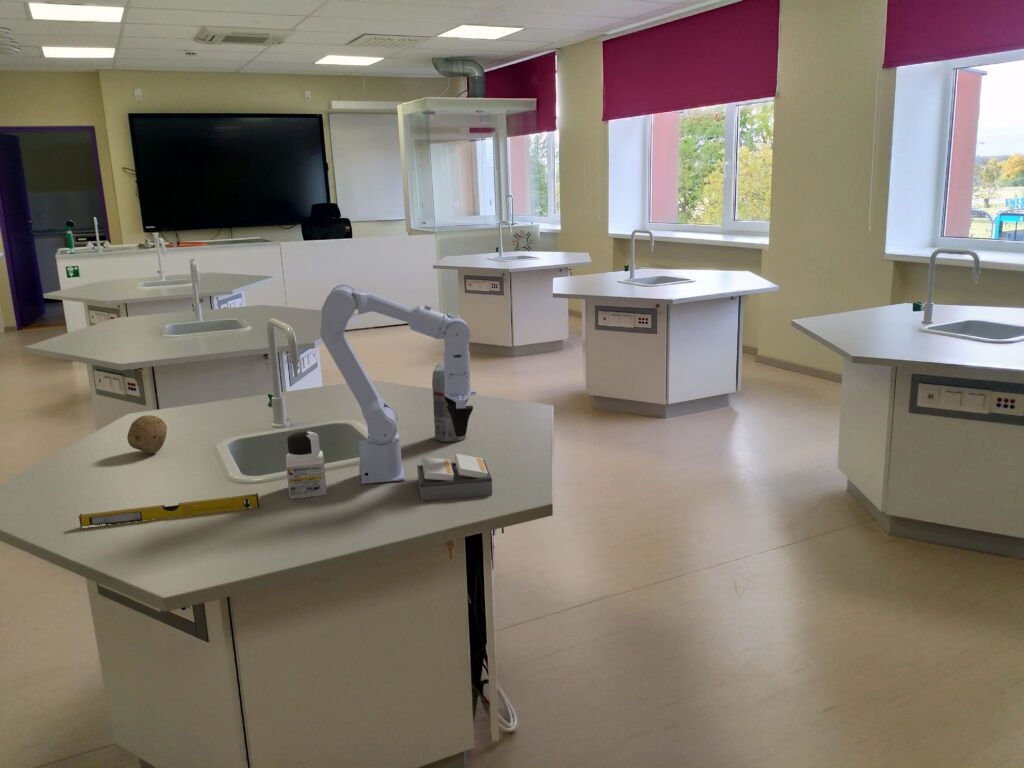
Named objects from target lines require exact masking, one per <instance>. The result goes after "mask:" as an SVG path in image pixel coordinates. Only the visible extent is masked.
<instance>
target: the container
mask: <svg viewBox="0 0 1024 768" xmlns="http://www.w3.org/2000/svg"><path fill="white" fill-rule="evenodd" d="M286 441H287V451H288V453H287V454H286V457H285V458H286V459H285V460H286V461H285V462H286V466H285V468H286V477H287V486H288V487H287V488H288V497H289V499H290V500H293V499H295V498H296V499H303V498H312V497H311V496H313V497H320V496H326V495H327V493H328V492H327V484H326V483H327V481H326V472H325V471H326V469H325V460H324V452H323V451H322V450H321V448H320V447H321V446H320V437H319V435H318V433H316V432H312V431H306V430H305V431H298V432H295V433H292V434H290V435H289V436H288V437H287V439H286Z"/></svg>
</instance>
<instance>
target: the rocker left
mask: <svg viewBox="0 0 1024 768" xmlns="http://www.w3.org/2000/svg"><path fill="white" fill-rule="evenodd" d="M421 459H422V460H421V465H422V467H423V473H424V478H425V479H435V480H447V481H453V477H454V474H453V470H452V467H451V463H452V462H451V459H449V458H439V457H438V458H437V457H427V456H426V457H424V456H423V457H422V458H421Z"/></svg>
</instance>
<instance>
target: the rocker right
mask: <svg viewBox="0 0 1024 768" xmlns="http://www.w3.org/2000/svg"><path fill="white" fill-rule="evenodd" d="M483 460H484V459H483V458H482V457H478V456H477V457H476V456H472V455H466V454H461V453H455V455H454V463H456V466H457V470H458V473H459V475H464V476H470V477H476V478H487V475H488V472H487V470H486V467H485V465H484V462H483Z"/></svg>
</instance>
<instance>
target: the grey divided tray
mask: <svg viewBox="0 0 1024 768" xmlns="http://www.w3.org/2000/svg"><path fill="white" fill-rule="evenodd" d="M482 460H483V462H484V465H485V467H486V470H487V472H488V475H487V478H476V477H470V476H464V475H459V473H458V470H457V466H456V463H455V462H450V463H451V467H452V470H453V474H454V477H453V481H447V480H435V479H425V478H424V473H423V467H422V464H421V465H418V464H417V466H416V467H417V480H418V481H417V482H418V487H419V488H418V489H419V493H420V498H421V499H420V500H421V502H422V501H434V500H435V501H436V500H437V501H438V500H446V499H447V500H448V499H455V498H456V499H457V498H458V499H459V498H460V499H461V498H469V497H471V498H472V497H481V496H482V497H483V496H492V495H493V481H492V480H493V479H492V475H491V473H490V471H489V468H488V466H487V463H486V461H485V459H482Z"/></svg>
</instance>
